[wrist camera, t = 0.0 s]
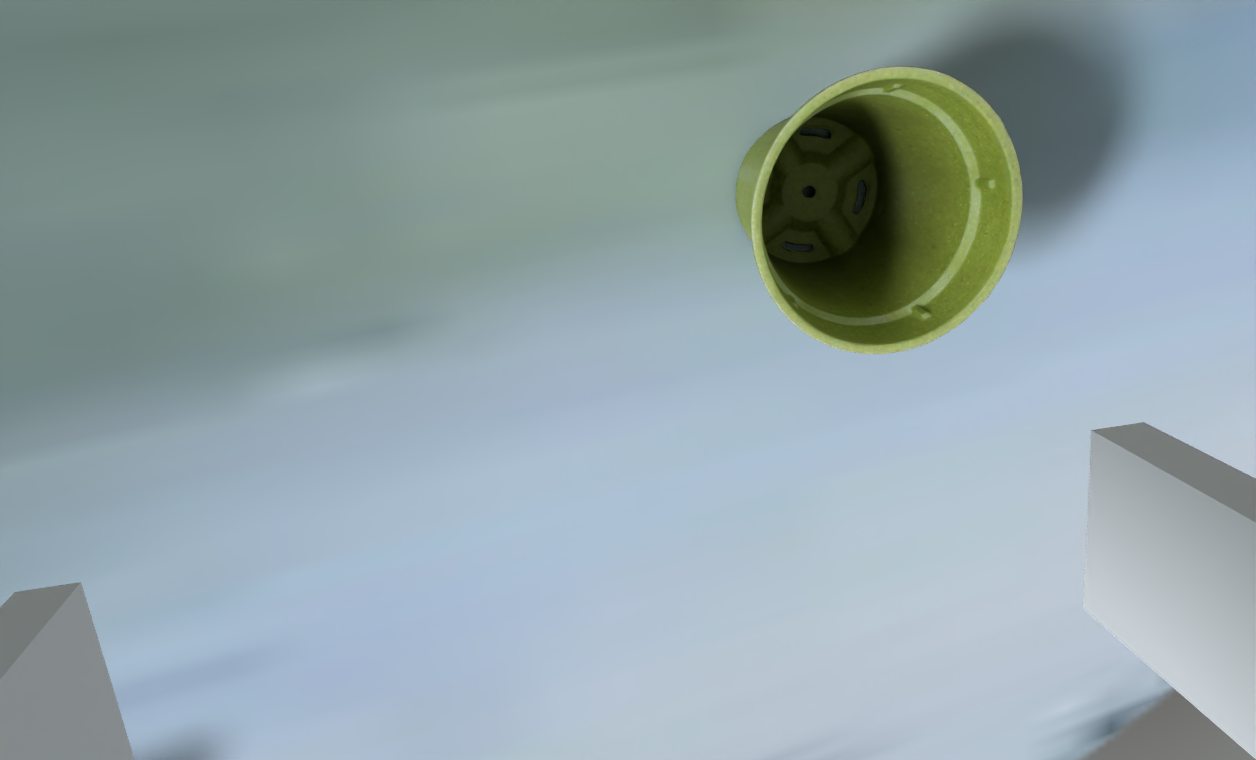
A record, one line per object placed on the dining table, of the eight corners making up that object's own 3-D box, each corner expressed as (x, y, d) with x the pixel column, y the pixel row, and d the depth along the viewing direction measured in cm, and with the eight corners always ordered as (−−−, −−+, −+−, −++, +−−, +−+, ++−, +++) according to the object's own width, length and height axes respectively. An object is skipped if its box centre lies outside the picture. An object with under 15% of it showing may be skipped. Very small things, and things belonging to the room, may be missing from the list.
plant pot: (933, 82, 40) (1050, 80, 31) (896, 308, 42) (995, 360, 34) (709, 60, 38) (771, 52, 30) (685, 296, 41) (736, 348, 32)
